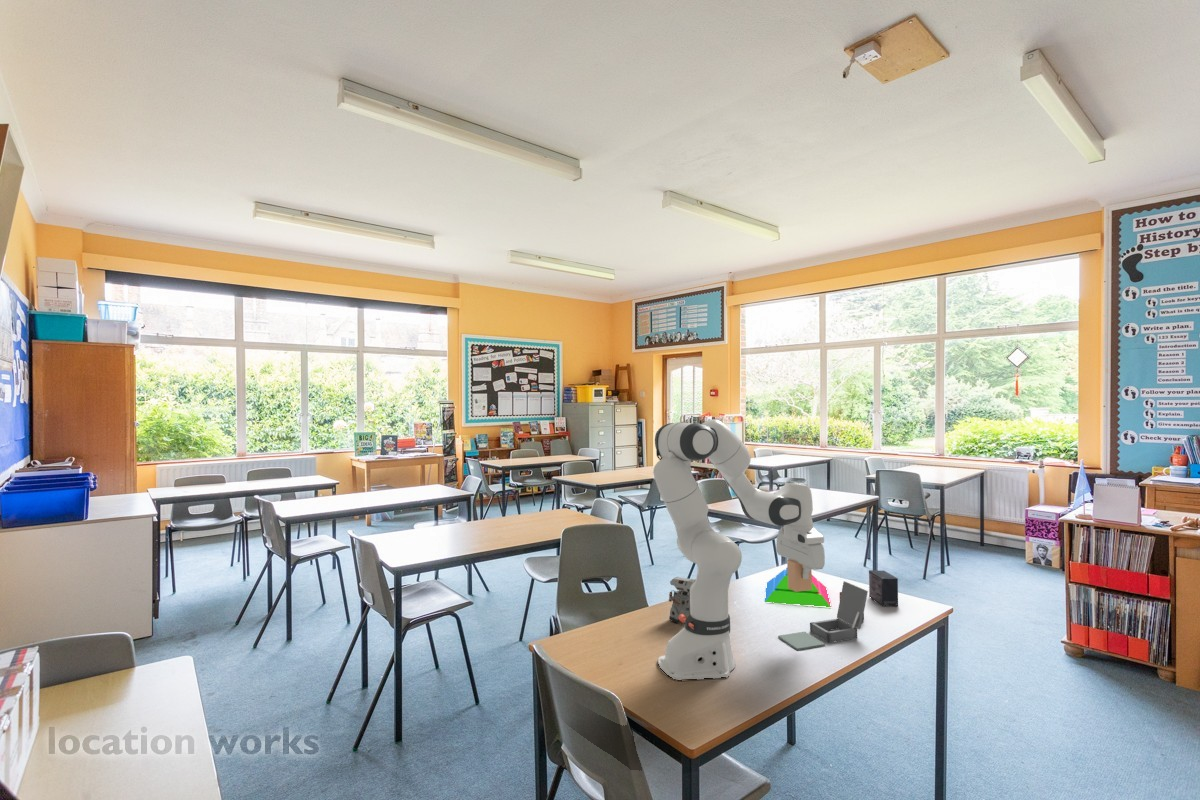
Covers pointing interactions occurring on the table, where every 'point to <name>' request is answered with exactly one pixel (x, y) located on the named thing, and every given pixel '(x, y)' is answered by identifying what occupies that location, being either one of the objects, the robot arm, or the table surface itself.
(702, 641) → the robot arm
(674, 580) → the figurine
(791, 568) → the block
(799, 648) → the rubber mat
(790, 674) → the table surface
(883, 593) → the small box
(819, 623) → the equipment case
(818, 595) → the pyramid toy
